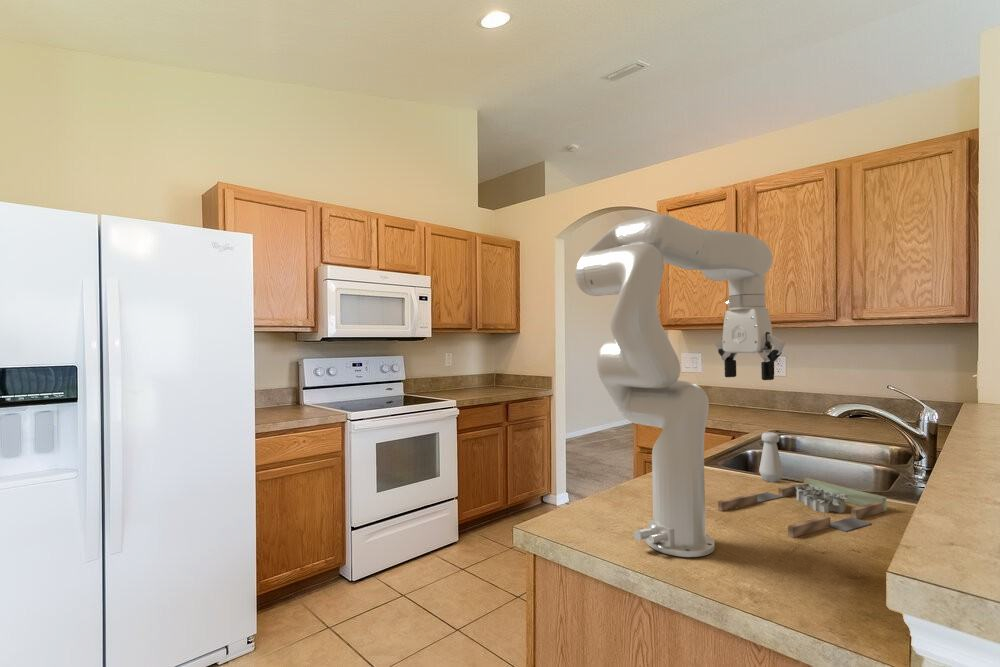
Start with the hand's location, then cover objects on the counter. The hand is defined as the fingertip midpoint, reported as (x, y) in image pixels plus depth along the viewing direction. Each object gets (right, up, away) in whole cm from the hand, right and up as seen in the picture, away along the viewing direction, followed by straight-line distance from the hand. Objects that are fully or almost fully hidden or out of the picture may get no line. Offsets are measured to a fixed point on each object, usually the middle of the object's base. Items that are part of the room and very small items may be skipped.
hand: (748, 378), depth 114 cm
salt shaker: (+18, -30, +24) cm, 42 cm away
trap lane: (+12, -30, 0) cm, 32 cm away
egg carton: (+18, -31, +3) cm, 36 cm away
